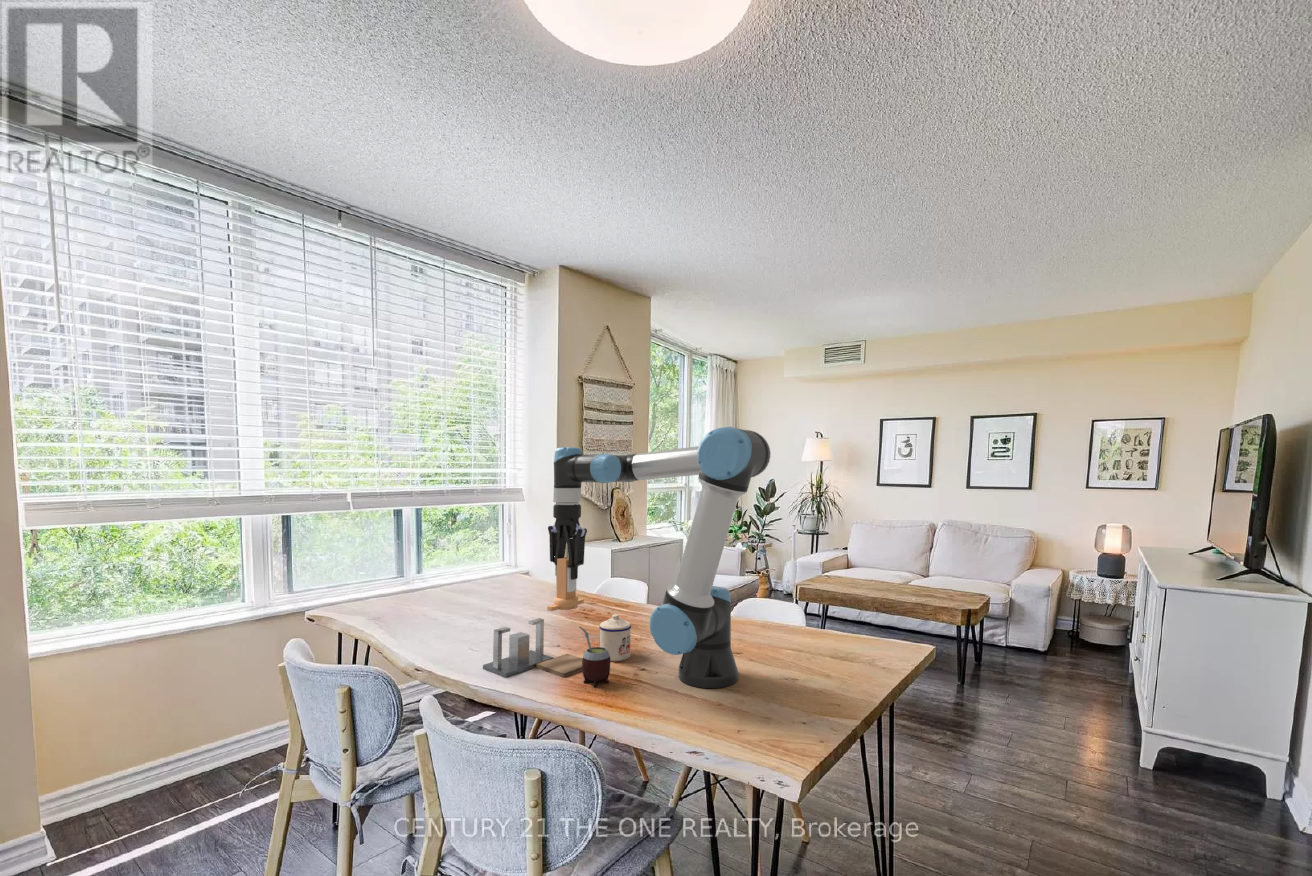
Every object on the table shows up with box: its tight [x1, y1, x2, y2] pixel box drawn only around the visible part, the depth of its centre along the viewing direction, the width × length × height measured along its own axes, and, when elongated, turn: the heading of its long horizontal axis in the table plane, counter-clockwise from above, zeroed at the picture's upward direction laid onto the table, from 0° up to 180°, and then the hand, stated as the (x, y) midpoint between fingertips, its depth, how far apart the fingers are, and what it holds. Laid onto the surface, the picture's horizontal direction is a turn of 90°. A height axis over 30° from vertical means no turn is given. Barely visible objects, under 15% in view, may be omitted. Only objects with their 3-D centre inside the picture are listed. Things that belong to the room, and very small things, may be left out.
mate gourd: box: [578, 626, 612, 688], centre depth 139 cm, size 8×8×15 cm
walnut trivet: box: [535, 653, 583, 678], centre depth 150 cm, size 11×11×1 cm
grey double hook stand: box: [482, 617, 555, 678], centre depth 152 cm, size 16×10×11 cm, turn 141°
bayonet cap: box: [547, 556, 585, 612], centre depth 151 cm, size 12×6×13 cm, turn 141°
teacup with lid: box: [599, 613, 632, 662], centre depth 160 cm, size 12×9×12 cm
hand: (566, 590), depth 151 cm, fingers closed on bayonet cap, 4 cm apart
